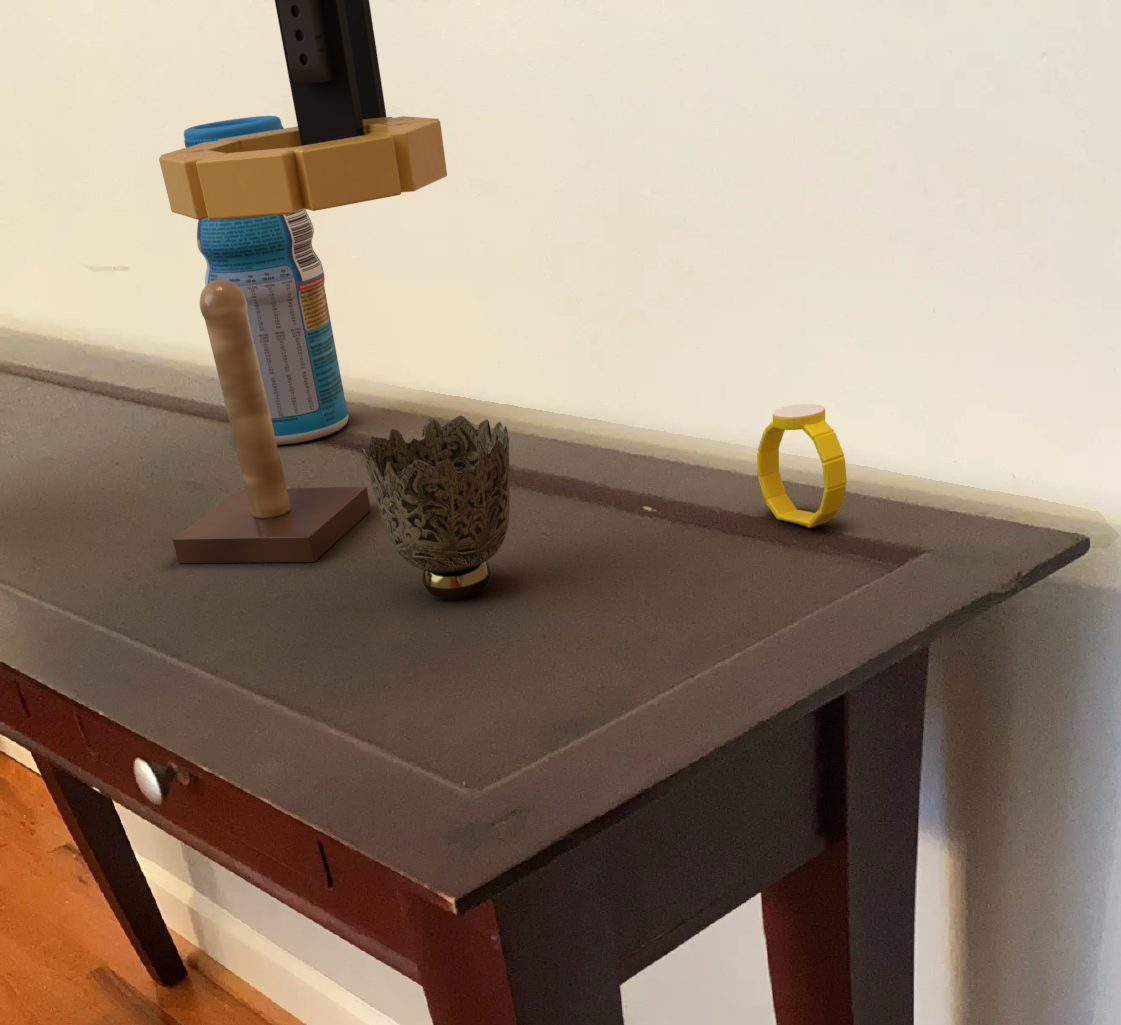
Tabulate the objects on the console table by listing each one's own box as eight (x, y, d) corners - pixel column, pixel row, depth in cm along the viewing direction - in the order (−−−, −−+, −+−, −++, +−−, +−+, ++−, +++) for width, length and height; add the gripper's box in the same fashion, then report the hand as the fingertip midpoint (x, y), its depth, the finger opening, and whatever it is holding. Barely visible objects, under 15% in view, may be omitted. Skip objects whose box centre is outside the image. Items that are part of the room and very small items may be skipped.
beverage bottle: (264, 455, 99) (190, 133, 87) (227, 434, 105) (153, 130, 93) (369, 428, 102) (312, 113, 90) (327, 409, 108) (268, 111, 96)
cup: (415, 630, 69) (386, 469, 65) (373, 587, 75) (343, 436, 70) (548, 594, 71) (530, 436, 67) (497, 555, 77) (477, 406, 72)
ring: (128, 226, 55) (113, 168, 53) (253, 181, 63) (242, 130, 61) (380, 207, 51) (370, 145, 50) (476, 163, 60) (470, 109, 58)
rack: (178, 563, 82) (105, 302, 73) (244, 512, 89) (184, 268, 80) (314, 562, 79) (255, 292, 71) (371, 510, 86) (323, 257, 78)
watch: (856, 527, 74) (859, 412, 71) (817, 540, 73) (818, 425, 70) (785, 504, 79) (784, 395, 75) (747, 516, 78) (745, 406, 74)
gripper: (211, -747, 39) (363, 190, 54) (399, -606, 50) (484, 138, 65) (-8, -682, 41) (195, 203, 56) (220, -561, 53) (340, 150, 67)
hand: (350, 167), depth 60 cm, fingers closed on ring, 2 cm apart
